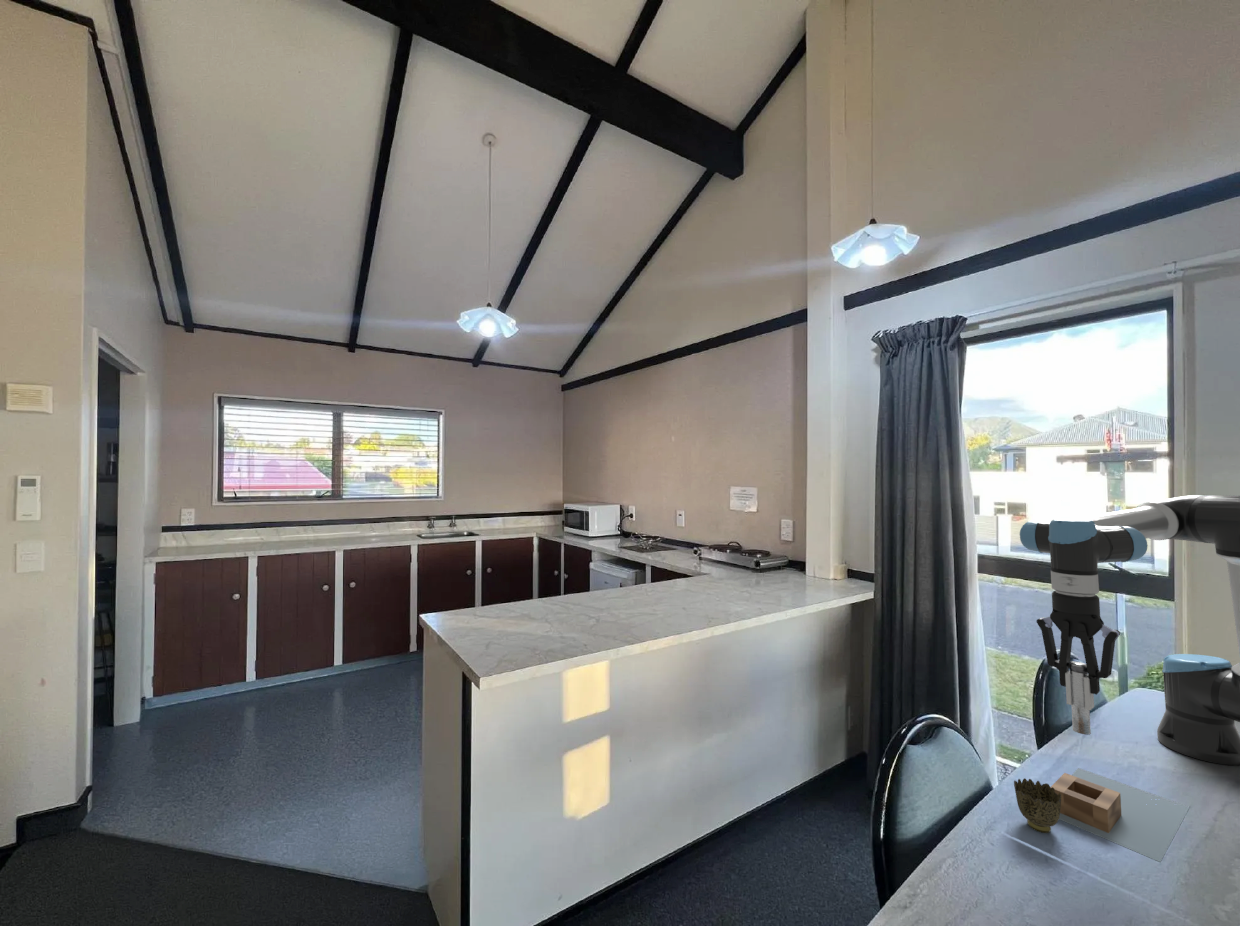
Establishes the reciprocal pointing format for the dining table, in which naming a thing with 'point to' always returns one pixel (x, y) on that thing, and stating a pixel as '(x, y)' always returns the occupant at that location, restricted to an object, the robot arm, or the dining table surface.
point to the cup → (1038, 804)
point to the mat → (1137, 818)
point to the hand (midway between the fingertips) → (1080, 705)
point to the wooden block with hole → (1088, 802)
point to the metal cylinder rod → (1079, 698)
